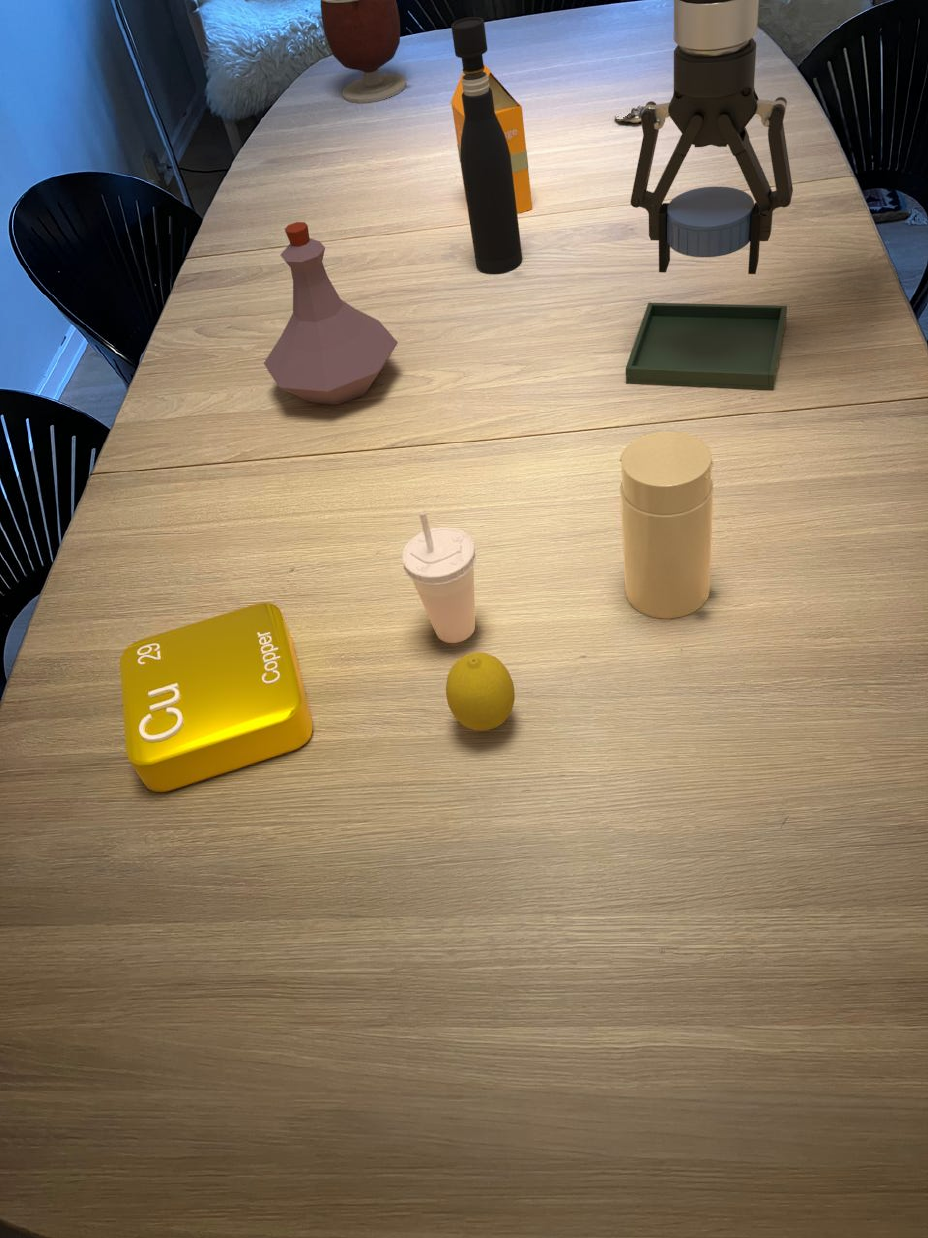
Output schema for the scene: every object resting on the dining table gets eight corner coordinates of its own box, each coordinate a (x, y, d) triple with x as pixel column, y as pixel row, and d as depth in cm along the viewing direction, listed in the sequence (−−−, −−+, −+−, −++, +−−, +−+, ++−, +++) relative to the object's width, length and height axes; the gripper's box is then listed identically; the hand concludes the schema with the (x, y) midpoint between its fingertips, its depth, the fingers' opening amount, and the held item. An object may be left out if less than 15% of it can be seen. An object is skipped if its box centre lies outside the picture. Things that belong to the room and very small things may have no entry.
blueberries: (607, 124, 168) (607, 112, 167) (631, 105, 173) (630, 93, 171) (644, 128, 165) (644, 116, 164) (667, 108, 169) (667, 96, 168)
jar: (715, 564, 95) (720, 432, 85) (703, 623, 91) (706, 491, 80) (633, 556, 98) (628, 426, 87) (617, 613, 93) (609, 483, 82)
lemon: (444, 741, 86) (428, 680, 80) (468, 691, 89) (453, 629, 84) (507, 755, 84) (494, 693, 78) (528, 704, 87) (518, 640, 82)
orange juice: (512, 187, 157) (496, 45, 143) (533, 208, 151) (518, 62, 137) (464, 201, 156) (443, 59, 142) (483, 223, 150) (463, 78, 136)
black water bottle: (531, 260, 141) (505, 18, 119) (493, 278, 139) (460, 35, 117) (504, 246, 145) (474, 9, 123) (467, 263, 143) (430, 26, 121)
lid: (659, 257, 108) (659, 226, 106) (674, 216, 114) (674, 186, 111) (747, 258, 105) (748, 226, 103) (757, 216, 111) (759, 185, 109)
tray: (786, 320, 121) (787, 305, 120) (773, 390, 112) (774, 374, 111) (648, 316, 126) (648, 302, 125) (626, 383, 117) (625, 368, 116)
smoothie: (423, 605, 97) (394, 490, 87) (490, 600, 96) (469, 483, 87) (418, 656, 93) (387, 541, 83) (489, 651, 92) (466, 534, 82)
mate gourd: (338, 84, 201) (312, -33, 187) (408, 70, 200) (387, -48, 186) (340, 113, 190) (312, -9, 176) (414, 98, 190) (392, -25, 175)
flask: (334, 439, 118) (287, 278, 104) (246, 397, 127) (192, 244, 113) (432, 369, 125) (401, 209, 111) (342, 333, 134) (303, 182, 120)
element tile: (318, 744, 88) (303, 709, 84) (145, 801, 86) (123, 767, 83) (289, 627, 98) (275, 591, 95) (135, 675, 97) (115, 641, 93)
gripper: (839, 20, 95) (815, 251, 111) (608, 32, 102) (617, 248, 118) (834, 50, 90) (809, 286, 106) (592, 61, 97) (603, 282, 113)
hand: (708, 266), depth 112 cm, fingers closed on lid, 9 cm apart
